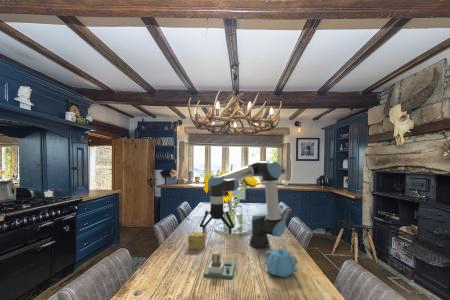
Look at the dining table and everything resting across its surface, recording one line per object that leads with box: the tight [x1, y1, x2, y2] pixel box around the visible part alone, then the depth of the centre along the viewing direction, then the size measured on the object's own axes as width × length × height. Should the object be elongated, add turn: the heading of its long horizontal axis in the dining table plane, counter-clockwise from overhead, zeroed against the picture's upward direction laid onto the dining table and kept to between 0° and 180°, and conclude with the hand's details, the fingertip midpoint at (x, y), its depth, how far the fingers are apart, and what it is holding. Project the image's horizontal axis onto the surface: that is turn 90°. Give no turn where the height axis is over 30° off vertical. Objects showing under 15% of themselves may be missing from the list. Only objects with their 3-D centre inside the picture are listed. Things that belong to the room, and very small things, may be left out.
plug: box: [211, 249, 222, 267], centre depth 142 cm, size 4×6×10 cm
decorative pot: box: [264, 248, 298, 279], centre depth 142 cm, size 16×16×14 cm
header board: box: [203, 259, 236, 279], centre depth 145 cm, size 16×18×4 cm
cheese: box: [187, 231, 206, 251], centre depth 181 cm, size 10×11×10 cm
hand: (217, 239), depth 143 cm, fingers open, 13 cm apart
